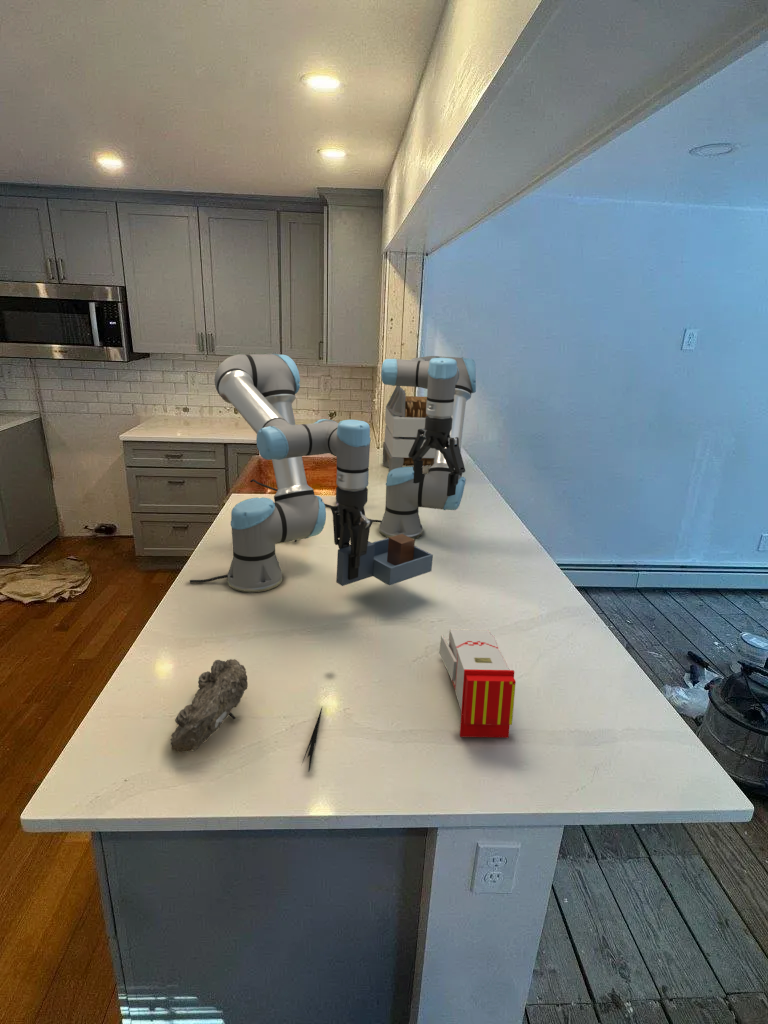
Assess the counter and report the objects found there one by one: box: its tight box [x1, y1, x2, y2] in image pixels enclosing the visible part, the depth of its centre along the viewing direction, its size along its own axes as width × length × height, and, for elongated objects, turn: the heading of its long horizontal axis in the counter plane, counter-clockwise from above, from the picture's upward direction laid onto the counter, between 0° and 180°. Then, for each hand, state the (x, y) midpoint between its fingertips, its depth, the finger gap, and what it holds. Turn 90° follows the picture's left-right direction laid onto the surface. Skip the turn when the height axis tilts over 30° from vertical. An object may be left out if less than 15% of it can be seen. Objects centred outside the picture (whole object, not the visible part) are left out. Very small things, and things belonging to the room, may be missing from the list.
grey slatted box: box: [381, 386, 463, 473], centre depth 268 cm, size 34×33×41 cm
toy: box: [438, 628, 517, 738], centre depth 117 cm, size 12×13×30 cm
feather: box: [301, 673, 332, 771], centre depth 108 cm, size 2×28×2 cm
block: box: [387, 534, 416, 566], centre depth 152 cm, size 5×5×7 cm
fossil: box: [170, 658, 249, 753], centre depth 106 cm, size 22×10×15 cm
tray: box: [335, 537, 434, 587], centre depth 147 cm, size 15×25×9 cm, turn 131°
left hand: (349, 575), depth 142 cm, fingers closed on tray, 2 cm apart
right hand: (433, 488), depth 164 cm, fingers open, 13 cm apart
